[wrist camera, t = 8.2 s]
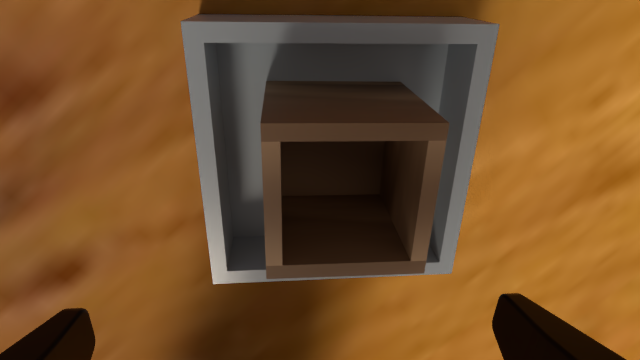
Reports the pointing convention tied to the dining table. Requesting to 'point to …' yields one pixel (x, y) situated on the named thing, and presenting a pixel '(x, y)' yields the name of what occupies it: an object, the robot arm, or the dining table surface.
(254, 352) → the dining table surface
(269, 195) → the walnut crate
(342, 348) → the dining table surface
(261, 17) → the grey crate
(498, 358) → the dining table surface
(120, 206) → the dining table surface
